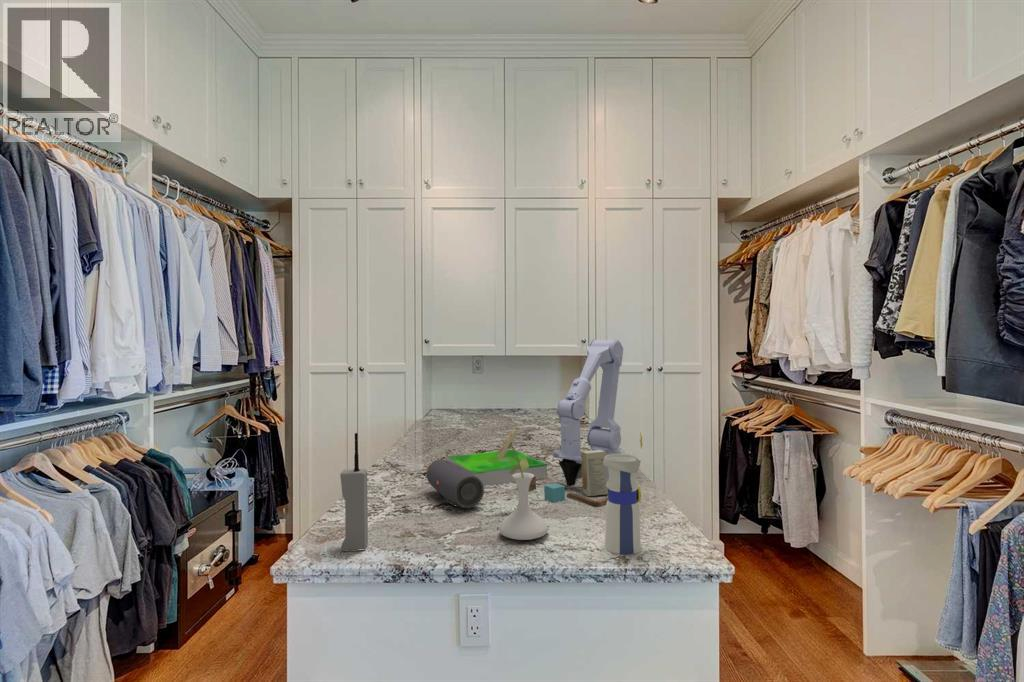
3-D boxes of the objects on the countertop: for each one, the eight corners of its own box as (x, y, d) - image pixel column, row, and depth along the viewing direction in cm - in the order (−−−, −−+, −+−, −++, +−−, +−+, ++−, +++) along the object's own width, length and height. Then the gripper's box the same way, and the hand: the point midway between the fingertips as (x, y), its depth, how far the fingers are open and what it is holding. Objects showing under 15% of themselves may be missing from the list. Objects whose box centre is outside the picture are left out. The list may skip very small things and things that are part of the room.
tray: (447, 471, 189) (447, 456, 189) (514, 463, 200) (513, 449, 200) (473, 489, 166) (473, 472, 166) (547, 479, 177) (546, 464, 177)
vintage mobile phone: (344, 545, 121) (343, 431, 121) (367, 544, 122) (366, 431, 122) (341, 551, 118) (339, 434, 117) (364, 550, 118) (363, 434, 118)
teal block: (555, 497, 156) (555, 483, 156) (564, 500, 153) (564, 486, 153) (544, 499, 154) (544, 485, 154) (553, 503, 151) (553, 488, 151)
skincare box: (602, 491, 161) (600, 449, 162) (608, 494, 157) (606, 451, 158) (581, 493, 160) (580, 450, 160) (587, 496, 155) (585, 452, 156)
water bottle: (636, 539, 124) (636, 427, 123) (647, 554, 115) (646, 434, 115) (600, 539, 123) (599, 427, 123) (608, 555, 115) (607, 434, 115)
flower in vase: (519, 523, 135) (518, 420, 134) (558, 534, 127) (557, 425, 127) (483, 539, 124) (482, 428, 124) (523, 551, 117) (522, 433, 117)
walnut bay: (600, 489, 164) (600, 485, 164) (629, 498, 154) (629, 494, 154) (566, 496, 156) (566, 493, 156) (595, 507, 147) (595, 503, 147)
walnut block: (527, 487, 167) (527, 473, 167) (535, 490, 164) (535, 476, 164) (517, 489, 165) (517, 475, 165) (525, 492, 161) (525, 478, 161)
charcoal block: (573, 474, 182) (573, 462, 182) (581, 476, 178) (581, 464, 178) (564, 476, 179) (564, 464, 179) (572, 478, 176) (572, 466, 176)
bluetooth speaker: (424, 493, 161) (424, 459, 161) (454, 488, 166) (454, 455, 165) (452, 515, 141) (452, 476, 141) (486, 510, 145) (485, 472, 145)
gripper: (544, 437, 168) (545, 482, 168) (577, 445, 156) (577, 493, 156) (562, 434, 172) (562, 478, 172) (595, 442, 160) (595, 488, 161)
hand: (570, 485), depth 165 cm, fingers closed
